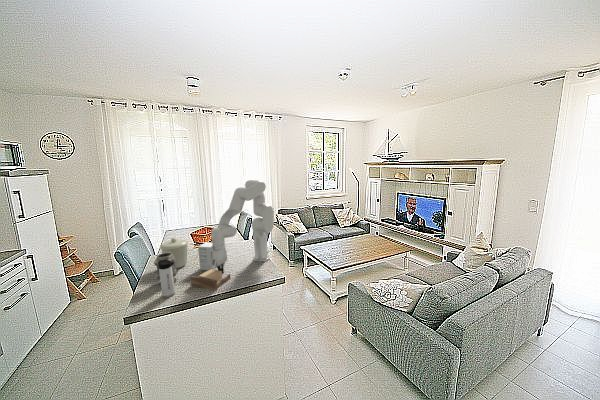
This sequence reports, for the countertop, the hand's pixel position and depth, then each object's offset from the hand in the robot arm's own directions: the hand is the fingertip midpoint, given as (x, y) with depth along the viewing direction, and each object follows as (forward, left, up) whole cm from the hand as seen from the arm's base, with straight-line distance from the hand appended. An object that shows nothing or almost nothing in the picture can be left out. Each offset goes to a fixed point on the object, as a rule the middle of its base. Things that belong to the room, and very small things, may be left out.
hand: (221, 273), depth 156 cm
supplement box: (-8, -16, -2) cm, 18 cm away
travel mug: (+28, -14, -2) cm, 31 cm away
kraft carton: (+7, -2, -2) cm, 8 cm away
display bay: (+8, 0, -1) cm, 8 cm away
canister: (-3, -41, -2) cm, 41 cm away
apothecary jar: (+17, -27, -2) cm, 32 cm away
